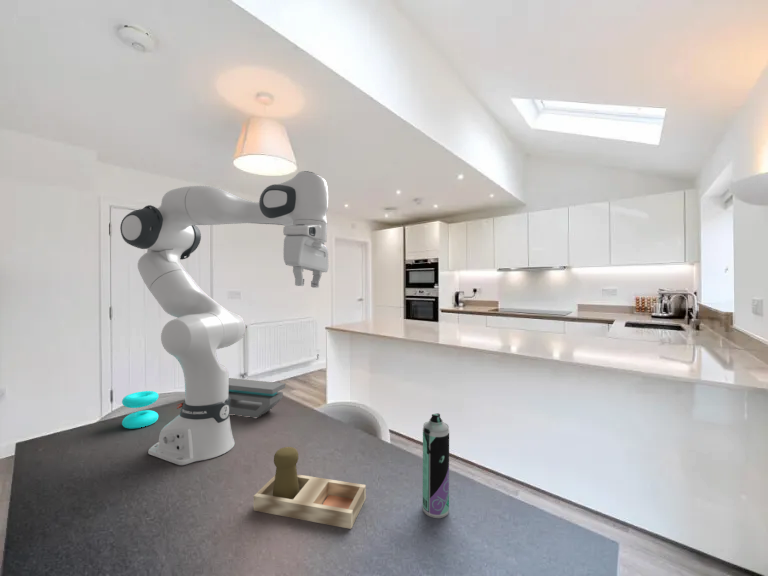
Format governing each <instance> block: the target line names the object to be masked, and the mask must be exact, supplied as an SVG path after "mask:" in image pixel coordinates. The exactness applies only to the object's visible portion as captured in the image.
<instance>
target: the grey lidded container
mask: <svg viewBox="0 0 768 576" xmlns="http://www.w3.org/2000/svg"><path fill="white" fill-rule="evenodd" d="M284 389H286V383H284V382H274V381H265V380H264V381H263V380H253V379H243V378H234V377H233V378H232V377H229V396H230V413H229V414H235V415H242V416H250V417H258V418H259V416H260V415H261V416H263V415H265V414H266V413H265V412H267V411H268V412H270V411H271V410H272V409H273V408H274V407H275V406H276V405H277V404H278V403H279V402H280V401H281V400H282V399H283V397H284V395H283V393H284V392H283V391H281V390H284ZM270 409H271V410H270ZM269 410H270V411H269ZM268 412H267V413H268ZM264 413H265V414H264ZM262 414H263V415H262ZM261 416H260V417H261Z"/></svg>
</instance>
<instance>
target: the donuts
mask: <svg viewBox="0 0 768 576" xmlns="http://www.w3.org/2000/svg"><path fill="white" fill-rule="evenodd" d="M159 398H160V397H159V393H158V392H157V391H153V390H142V391H137V392H133V393H130V394H127V395H126V396H124V397H123V399H122V401H121V404H122V405H123V406H124V407H125V408H128V409H129V408H130V409H137V408H144V407H147V406H150V405H153V404H154V403H156V402H157V401H158V399H159ZM158 419H159V414H158V412H156V411H155V410H150V409H147V410H146V409H145V410H138V411H134V412H132V413H130V414H127V416H125V417H123V419H122V422H121V425H122V426H123V428H125V429H130V430H131V429H141V427H142V428H146V427H149V426H151V425H153V424H154V423H156V422H157V421H158ZM145 426H146V427H145Z"/></svg>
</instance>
